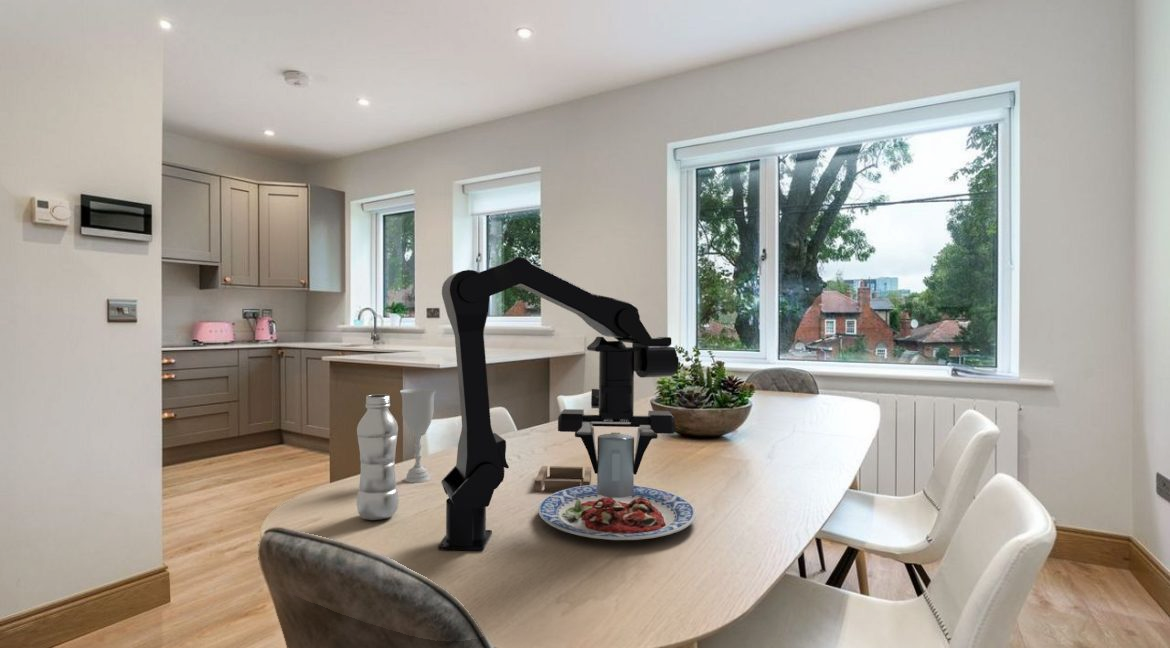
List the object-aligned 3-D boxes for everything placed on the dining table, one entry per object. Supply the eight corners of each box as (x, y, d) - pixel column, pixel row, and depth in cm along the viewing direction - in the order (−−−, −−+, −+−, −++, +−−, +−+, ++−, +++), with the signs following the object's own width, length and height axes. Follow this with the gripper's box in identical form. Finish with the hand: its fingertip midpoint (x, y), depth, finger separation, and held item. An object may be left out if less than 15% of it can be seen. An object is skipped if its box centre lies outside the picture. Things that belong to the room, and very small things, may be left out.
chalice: (392, 482, 112) (392, 392, 112) (412, 473, 118) (412, 388, 118) (424, 485, 110) (424, 393, 109) (442, 476, 116) (443, 389, 116)
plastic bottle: (371, 528, 87) (372, 400, 87) (348, 518, 91) (348, 396, 91) (407, 516, 92) (407, 395, 92) (383, 508, 97) (383, 392, 96)
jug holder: (589, 492, 106) (589, 481, 106) (534, 490, 107) (534, 480, 107) (591, 476, 117) (591, 467, 117) (541, 475, 117) (541, 466, 117)
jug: (632, 485, 96) (633, 433, 96) (635, 503, 86) (635, 445, 86) (597, 484, 96) (598, 432, 96) (596, 502, 87) (596, 444, 86)
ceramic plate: (701, 503, 101) (701, 486, 101) (688, 563, 76) (688, 541, 76) (565, 490, 108) (565, 474, 108) (513, 541, 83) (513, 521, 83)
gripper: (668, 374, 100) (667, 462, 100) (563, 373, 100) (563, 460, 101) (675, 381, 88) (674, 480, 89) (558, 379, 89) (557, 477, 89)
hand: (615, 473), depth 92 cm, fingers closed on jug, 6 cm apart
